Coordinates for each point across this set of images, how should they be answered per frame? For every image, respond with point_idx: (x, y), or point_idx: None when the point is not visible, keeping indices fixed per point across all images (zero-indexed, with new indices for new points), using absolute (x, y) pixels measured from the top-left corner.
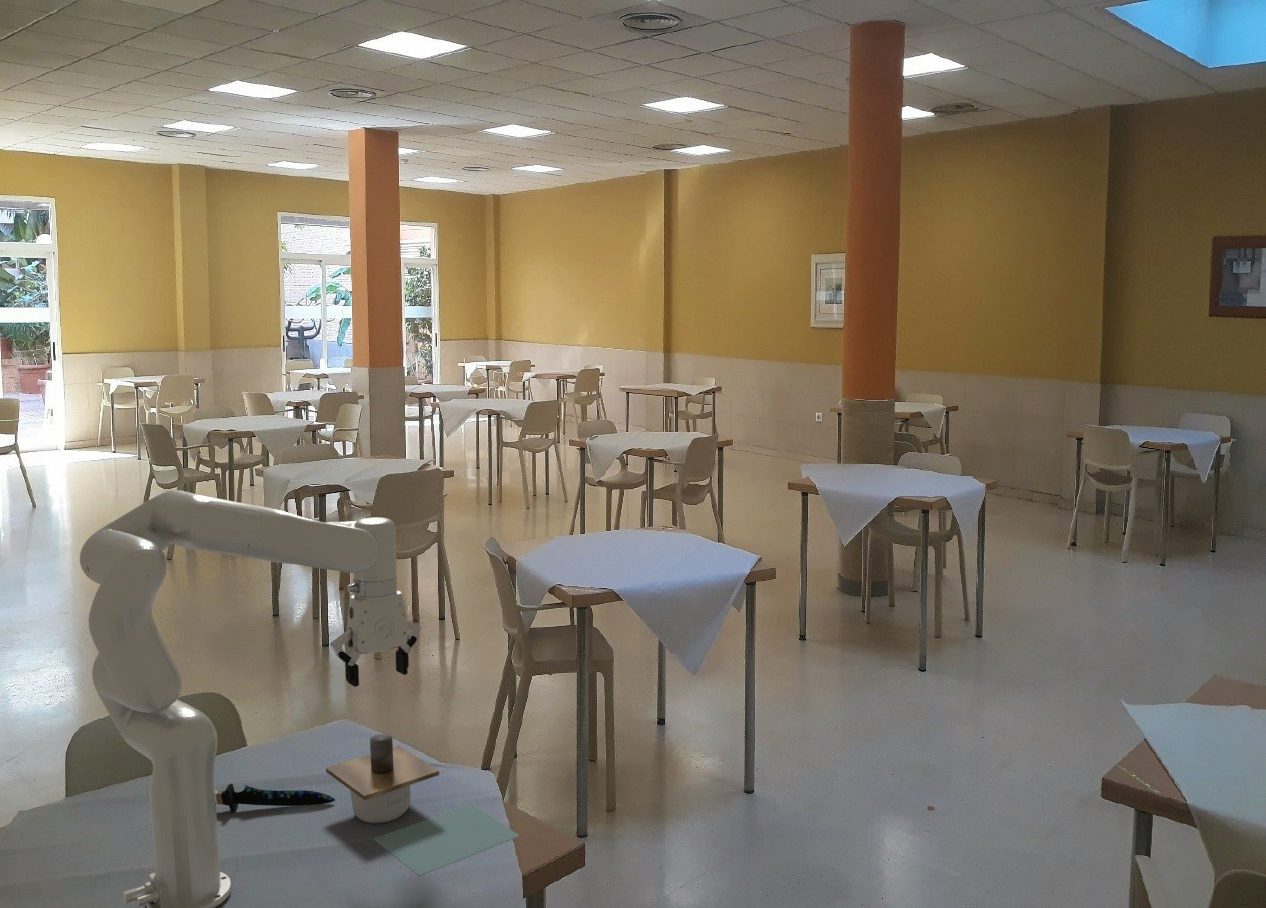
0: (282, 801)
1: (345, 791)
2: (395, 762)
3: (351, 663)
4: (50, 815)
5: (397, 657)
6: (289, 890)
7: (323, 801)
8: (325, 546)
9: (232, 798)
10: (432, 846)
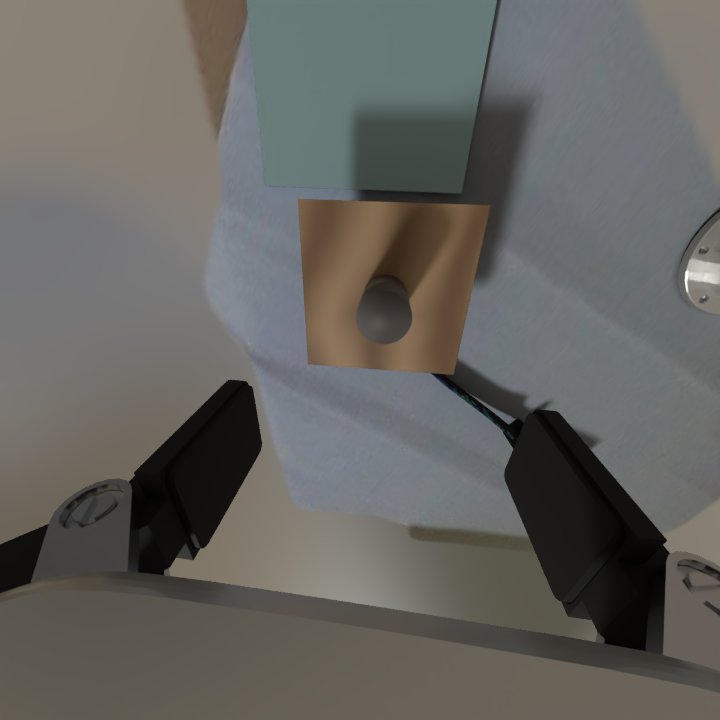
0: (471, 397)
1: (386, 375)
2: (348, 306)
3: (714, 582)
4: None
5: (219, 500)
6: (661, 144)
7: None
8: None
9: None
10: (407, 64)
